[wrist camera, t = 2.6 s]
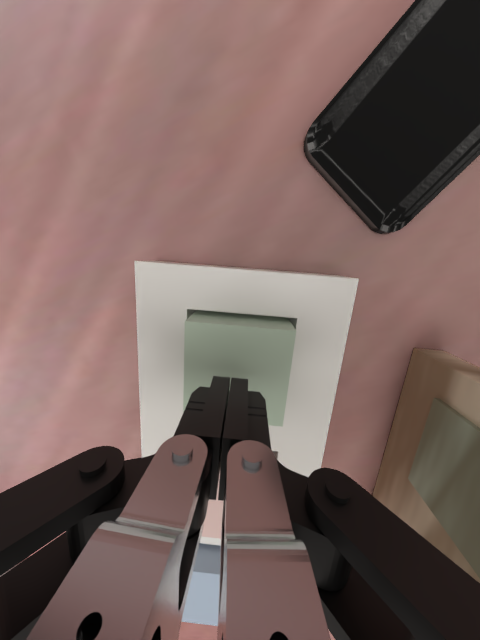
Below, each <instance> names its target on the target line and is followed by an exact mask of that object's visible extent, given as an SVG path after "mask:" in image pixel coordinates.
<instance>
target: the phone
mask: <svg viewBox="0 0 480 640" xmlns="http://www.w3.org/2000/svg"><path fill="white" fill-rule="evenodd" d="M304 152H305V156H306V158H307V159H308V161H309V162H310V163H311V165H312V166H313V167H314V168H315V169H316V170H317V171H318V172H319V173H320V174H321V175H322V177H323V178H324V179H325V180H326V181H327V182H328V183H329V184H330V185H331V186H332V187H333V189H334V190H335V191H336V192H337V193H338V194H339V195H340V196H341V197H342V198H343V199H344V200H345V202H346V203H347V204H348V205H349V206H350V207H351V208H352V209H353V210H354V211H355V212H356V214H357V215H358V216H359V217H360V218H361V219H362V220H363V221H364V222H365V223H366V224H367V226H368V227H369V228H370V229H372V230H373V231H374V232H377V233H380V234H382V233H391V232H395V231H398V230H400V229H401V228H403V227H404V226H405V225H407V224H408V223H409V222H410V221H411V220H412V219H413V218H414V217H415V216H416V215H417V214H418V213H419V212H420V211H421V210H422V209H423V208H424V207H425V206H426V205H427V204H429V203H430V202H431V201H432V200H433V199H434V198H435V197H436V196H437V195H438V194H439V193H440V192H441V191H442V190H443V189H444V188H445V187H446V186H447V185H448V184H449V183H451V182H452V181H453V180H454V179H455V178H456V177H457V176H458V175H459V174H460V173H461V172H462V171H463V170H464V169H465V168H466V167H467V166H468V165H469V164H470V163H471V162H473V161H474V160H475V159H476V158H477V157H478V156H479V155H480V0H415V2H414V3H413V4H412V5H411V6H410V8H409V9H408V10H407V11H406V12H405V14H404V15H403V16H402V17H401V18H400V19H399V21H398V22H397V23H396V24H395V25H394V27H393V28H392V29H391V30H390V31H389V33H388V34H387V35H386V36H385V37H384V39H383V40H382V41H381V42H380V43H379V44H378V46H377V47H376V48H375V49H374V50H373V52H372V53H371V54H370V55H369V56H368V58H367V59H366V60H365V61H364V62H363V64H362V65H361V66H360V67H359V68H358V70H357V71H356V72H355V73H354V74H353V75H352V77H351V78H350V79H349V80H348V81H347V83H346V84H345V85H344V86H343V87H342V89H341V90H340V91H339V92H338V93H337V95H336V96H335V97H334V98H333V99H332V100H331V102H330V103H329V104H328V105H327V106H326V108H325V109H324V110H323V111H322V112H321V114H320V115H319V116H318V117H317V118H316V120H315V121H314V122H313V124H312V125H311V127H310V128H309V130H308V133H307V135H306V138H305V141H304Z"/></svg>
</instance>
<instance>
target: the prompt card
mask: <svg viewBox="0 0 480 640" xmlns="http://www.w3.org/2000/svg"><path fill="white" fill-rule="evenodd" d="M372 496H373V497H374V498H376V499H377V500H378V501H379V502H381V503H382V504H383V505H384V506H386V507H387V508H388V509H389V510H390V511H392V512H393V513H394V514H395V515H397V516H398V517H399V518H400V519H401V520H403V521H404V522H405V523H406V524H408V525H409V526H410V527H411V528H413V529H414V530H415V531H416V532H417V533H419V534H420V535H421V536H422V537H424V538H425V539H426V540H427V541H428V542H430V543H431V544H432V545H433V546H435V547H436V548H437V549H438V550H440V551H441V552H442V553H443V554H444V555H446V556H447V557H448V558H449V559H451V560H452V561H453V562H454V563H455V564H457V565H458V566H459V567H460V568H462V569H463V570H464V571H465V572H466V573H468V574H469V575H470V576H471V577H473V578H474V579H475V580H476V581H478V582H479V583H480V368H479V367H477V366H475V365H473V364H471V363H469V362H467V361H464V360H462V359H460V358H458V357H456V356H454V355H452V354H450V353H447V352H445V351H443V350H431V349H420V348H414V349H413V353H412V356H411V360H410V363H409V367H408V370H407V374H406V378H405V381H404V385H403V388H402V392H401V395H400V399H399V402H398V406H397V409H396V413H395V417H394V420H393V424H392V427H391V431H390V434H389V438H388V441H387V445H386V449H385V452H384V456H383V459H382V463H381V466H380V470H379V473H378V477H377V481H376V484H375V488H374V491H373V495H372Z"/></svg>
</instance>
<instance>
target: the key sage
mask: <svg viewBox="0 0 480 640" xmlns="http://www.w3.org/2000/svg"><path fill="white" fill-rule="evenodd" d="M295 336H296V330H295V328H294V326H293V325H292V323H291V322H290V320H289V319H288V318H285V317H273V316H261V315H249V314H237V313H226V312H214V311H202V310H196V311H195V312H194V313H193V314H192V315H191V316H190V317H189V318H188V319H187V320H185V334H184V394H183V413H184V410H185V408H186V406H187V403H188V401H189V399H190V396H191V394H192V392H194V391H195V390H196V389H197V388H198V387H200V386H201V387H210V385H211V382H212V379H213V376H220V377H230V384H231V378H243V379H248V391H256V392H260V393H261V394H262V396H263V397H264V398H265V401H266V410H267V418H268V425H271V426H281V427H283V420H284V413H285V406H286V399H287V392H288V385H289V378H290V371H291V364H292V357H293V350H294V343H295ZM229 391H230V388H229Z"/></svg>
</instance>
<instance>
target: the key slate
mask: <svg viewBox="0 0 480 640" xmlns="http://www.w3.org/2000/svg"><path fill="white" fill-rule="evenodd" d="M220 549H221V546H220V545H211V544H202V543H200V544H199V548H198V552H197V557H196V561H195V565H194V569H193V574H192V578H191V582H190V586H189V590H188V595H187V599H186V603H185V607H184V611H183V616H182V620H181V622H189V623H197V624H206V625H214V626H218V606H219V577H220Z"/></svg>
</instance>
